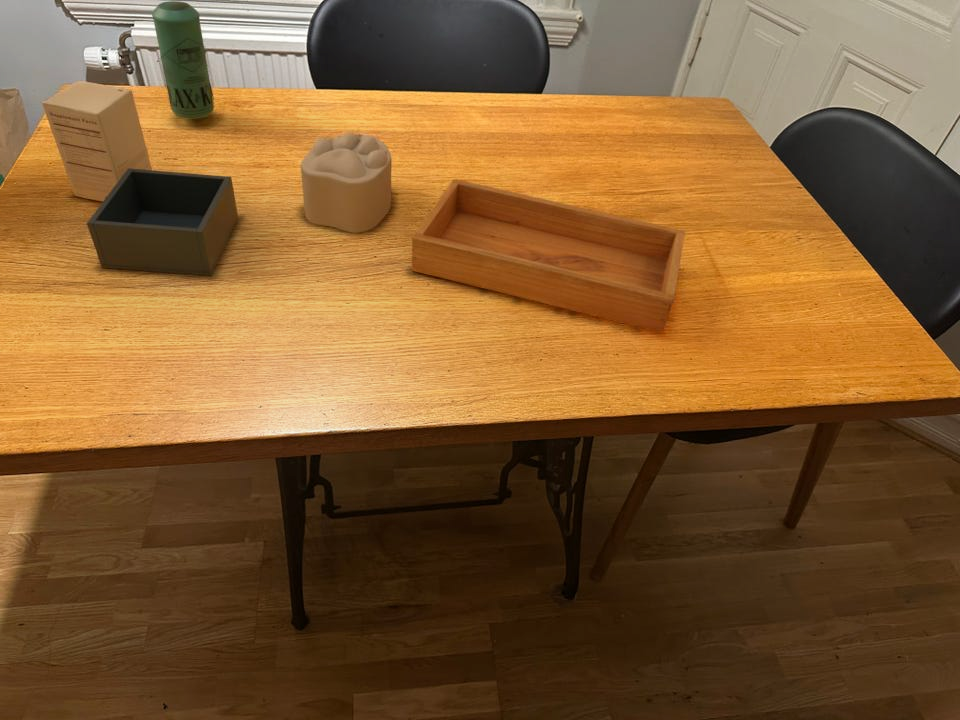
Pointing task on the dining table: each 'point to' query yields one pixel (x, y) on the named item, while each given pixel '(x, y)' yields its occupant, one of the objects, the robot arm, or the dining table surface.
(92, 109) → the white packaging box
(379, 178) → the lumpy-topped squat cylinder
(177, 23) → the beverage bottle
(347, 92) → the dining table surface
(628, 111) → the dining table surface
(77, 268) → the dining table surface
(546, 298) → the tray
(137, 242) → the dark grey storage bin
